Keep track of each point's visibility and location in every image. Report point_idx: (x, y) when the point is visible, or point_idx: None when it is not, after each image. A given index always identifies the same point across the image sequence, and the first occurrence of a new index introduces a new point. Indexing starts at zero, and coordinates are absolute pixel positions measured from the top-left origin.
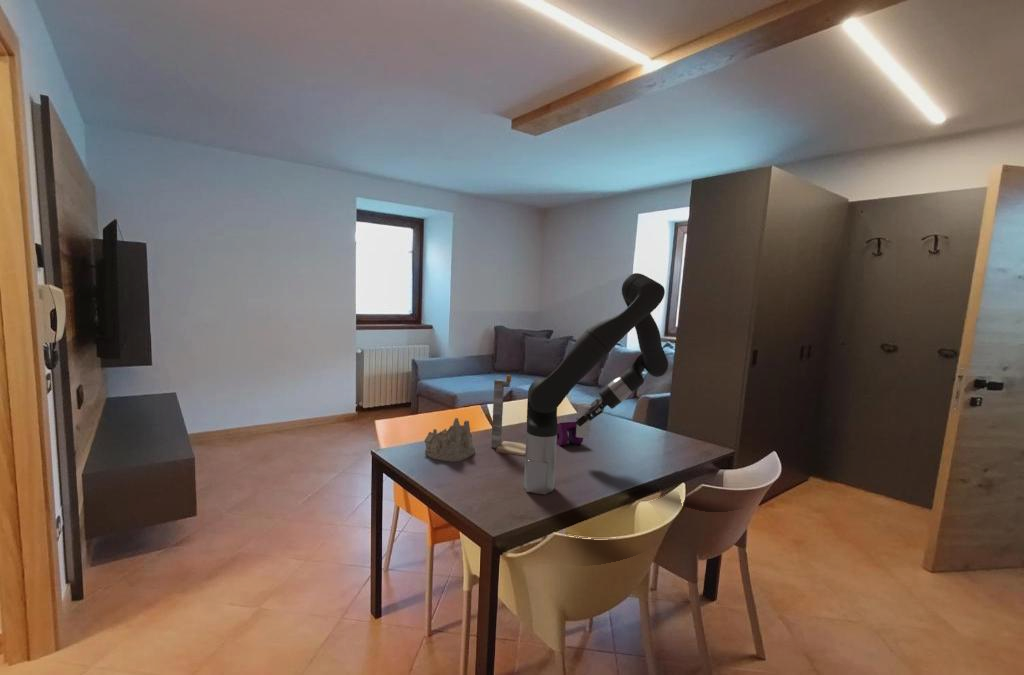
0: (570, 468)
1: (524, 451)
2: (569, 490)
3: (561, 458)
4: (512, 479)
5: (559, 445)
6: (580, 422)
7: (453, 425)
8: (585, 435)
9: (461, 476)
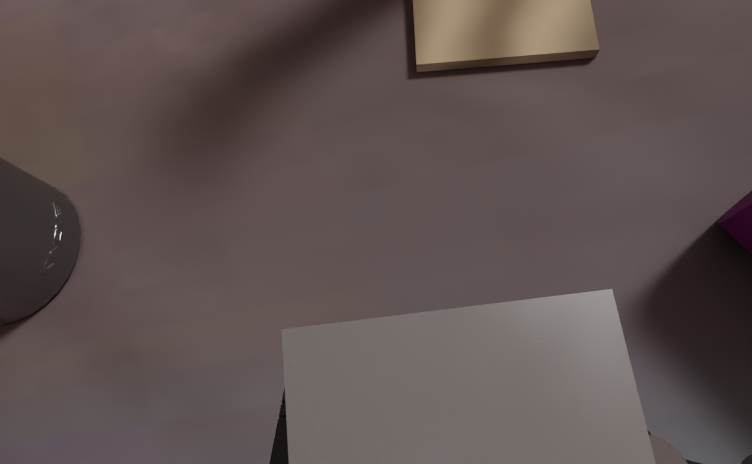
0: None
1: (450, 55)
2: (5, 407)
3: (473, 276)
4: (81, 117)
5: (725, 213)
6: None
7: None
8: None
9: None
